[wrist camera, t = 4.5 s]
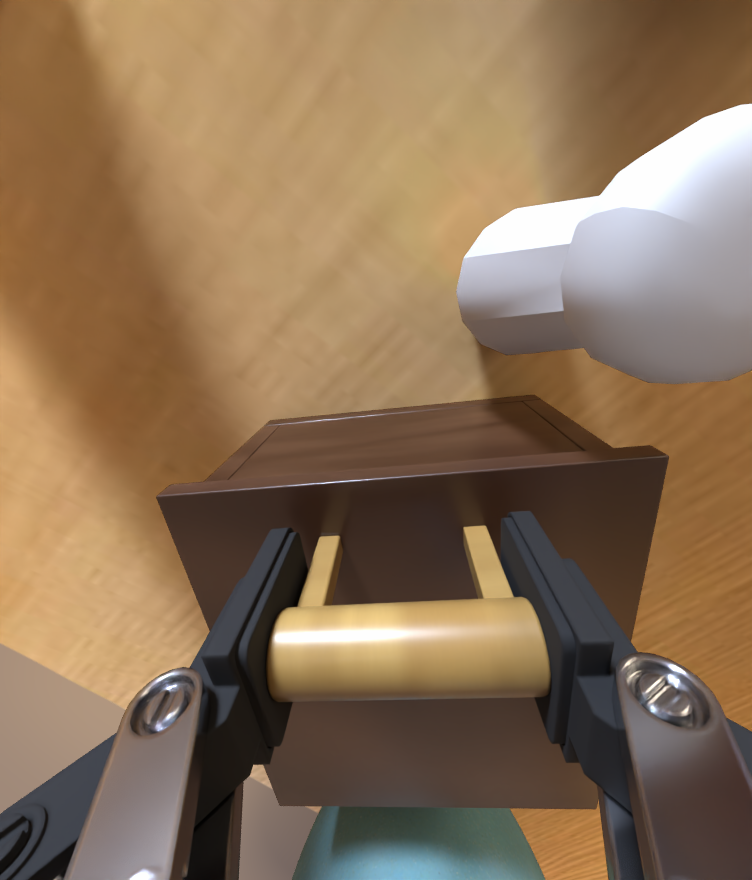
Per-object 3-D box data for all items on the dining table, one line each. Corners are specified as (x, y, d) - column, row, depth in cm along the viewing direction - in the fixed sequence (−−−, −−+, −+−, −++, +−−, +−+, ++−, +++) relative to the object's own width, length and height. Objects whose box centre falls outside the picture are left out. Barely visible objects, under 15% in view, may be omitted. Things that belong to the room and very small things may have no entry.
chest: (269, 420, 21) (181, 501, 12) (534, 394, 19) (641, 466, 11) (319, 632, 27) (284, 784, 18) (524, 625, 25) (587, 785, 17)
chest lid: (170, 483, 12) (0, 622, 7) (650, 444, 10) (891, 582, 5) (284, 785, 18) (241, 971, 13) (588, 787, 17) (669, 995, 12)
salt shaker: (546, 192, 16) (1035, -172, 4) (587, 310, 17) (1018, 327, 5) (428, 265, 17) (505, 174, 5) (477, 368, 19) (624, 487, 7)
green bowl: (476, 823, 35) (515, 1076, 24) (298, 786, 34) (248, 1026, 23) (553, 711, 28) (658, 987, 17) (333, 662, 28) (287, 913, 16)
